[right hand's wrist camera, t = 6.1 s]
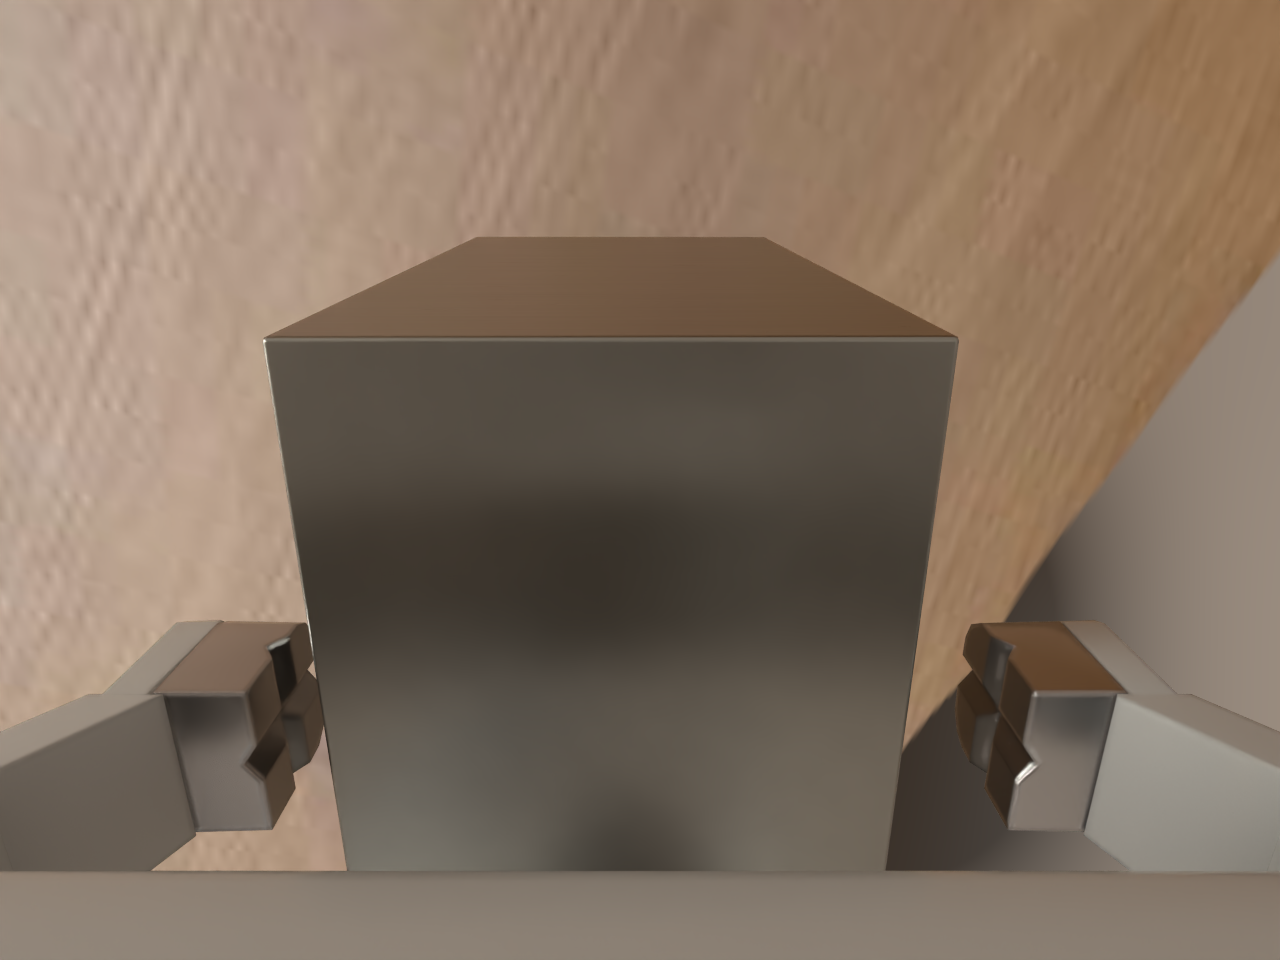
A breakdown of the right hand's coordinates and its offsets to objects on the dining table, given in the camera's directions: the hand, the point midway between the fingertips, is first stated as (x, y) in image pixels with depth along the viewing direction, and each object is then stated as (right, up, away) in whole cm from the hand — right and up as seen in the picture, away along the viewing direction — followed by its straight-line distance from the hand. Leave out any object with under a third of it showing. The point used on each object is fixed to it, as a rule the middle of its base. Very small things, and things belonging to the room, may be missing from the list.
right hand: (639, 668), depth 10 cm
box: (0, -4, +13) cm, 13 cm away
